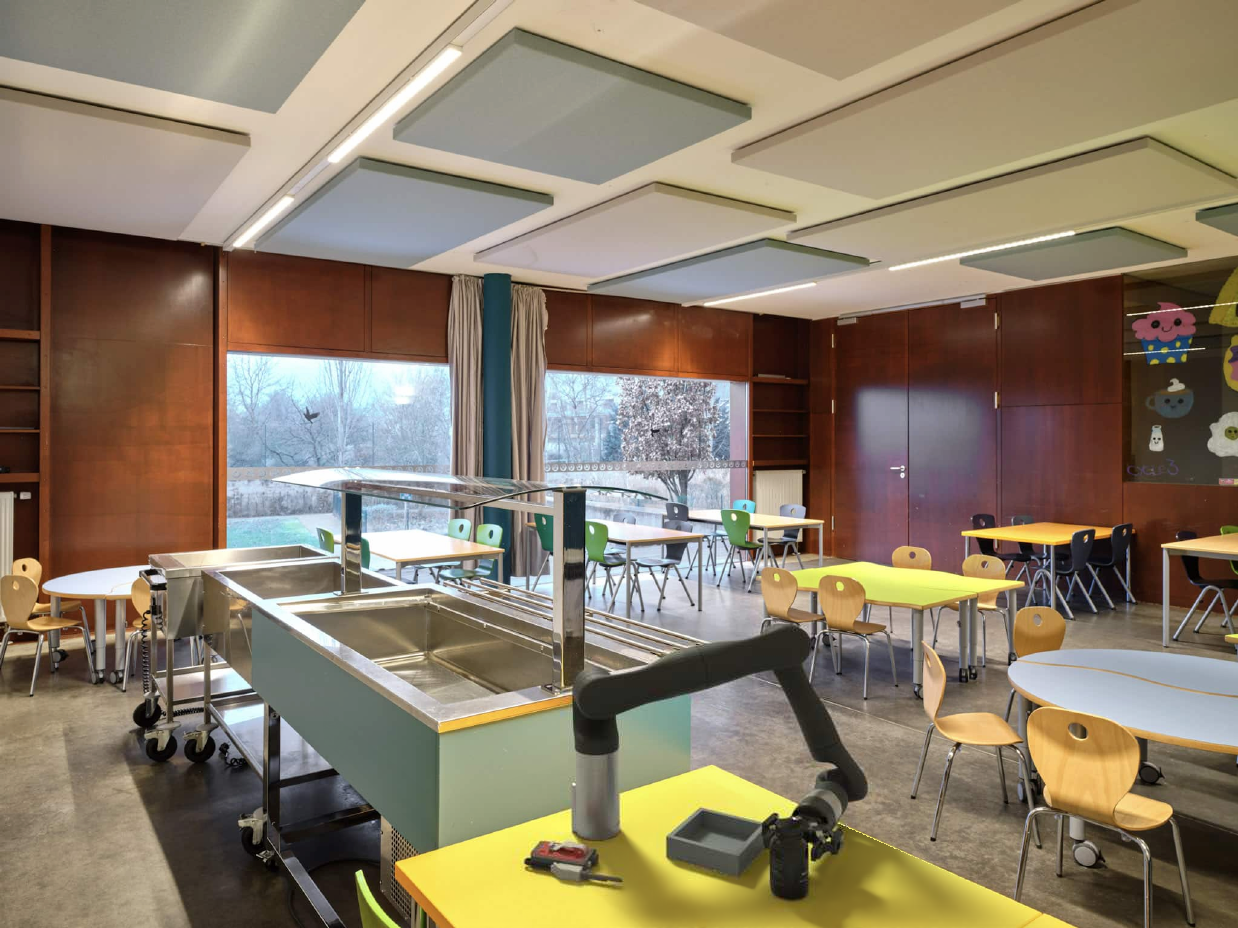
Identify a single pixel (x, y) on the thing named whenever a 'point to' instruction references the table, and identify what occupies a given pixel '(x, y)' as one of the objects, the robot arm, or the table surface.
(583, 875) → the walkie-talkie
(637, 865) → the table surface
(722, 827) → the tray
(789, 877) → the supplement bottle
